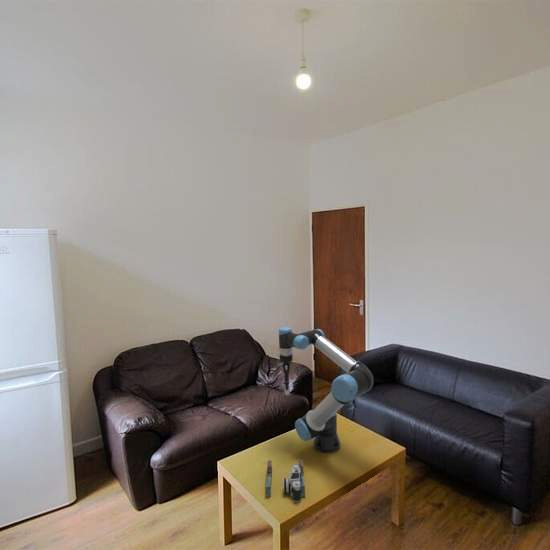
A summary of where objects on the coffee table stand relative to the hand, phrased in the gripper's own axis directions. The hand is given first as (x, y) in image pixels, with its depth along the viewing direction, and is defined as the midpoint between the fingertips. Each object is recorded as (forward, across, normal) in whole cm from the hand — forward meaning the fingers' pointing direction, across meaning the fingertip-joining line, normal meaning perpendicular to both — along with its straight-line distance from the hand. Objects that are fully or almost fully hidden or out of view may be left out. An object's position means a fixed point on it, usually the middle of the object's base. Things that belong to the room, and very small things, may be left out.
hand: (286, 389), depth 210 cm
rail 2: (+32, +36, +6) cm, 48 cm away
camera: (+32, +42, +1) cm, 53 cm away
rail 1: (+32, +36, -10) cm, 49 cm away
